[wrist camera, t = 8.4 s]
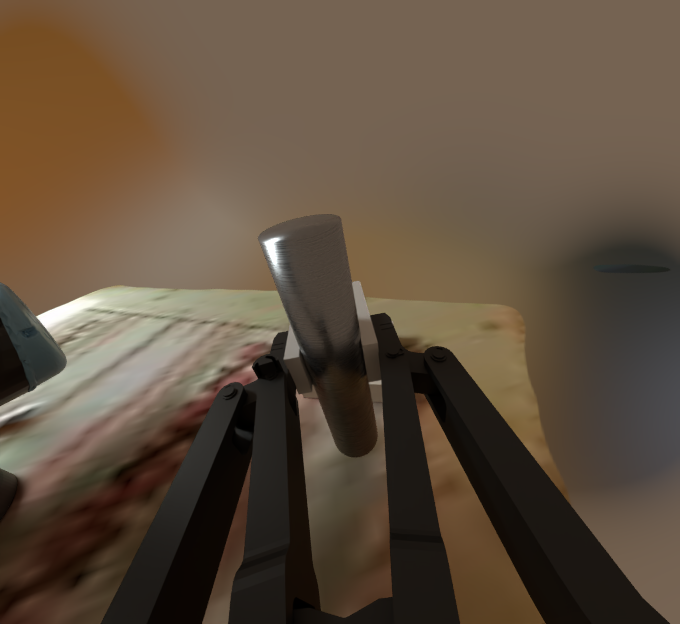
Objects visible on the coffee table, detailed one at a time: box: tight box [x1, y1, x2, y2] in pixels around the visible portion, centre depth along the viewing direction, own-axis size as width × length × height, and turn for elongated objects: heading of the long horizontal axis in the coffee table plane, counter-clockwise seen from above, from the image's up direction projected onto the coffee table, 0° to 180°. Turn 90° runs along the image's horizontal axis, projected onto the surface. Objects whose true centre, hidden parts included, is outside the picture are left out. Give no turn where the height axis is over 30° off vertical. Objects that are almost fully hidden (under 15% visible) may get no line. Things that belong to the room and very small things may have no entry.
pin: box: [258, 214, 378, 457], centre depth 13 cm, size 3×3×15 cm
